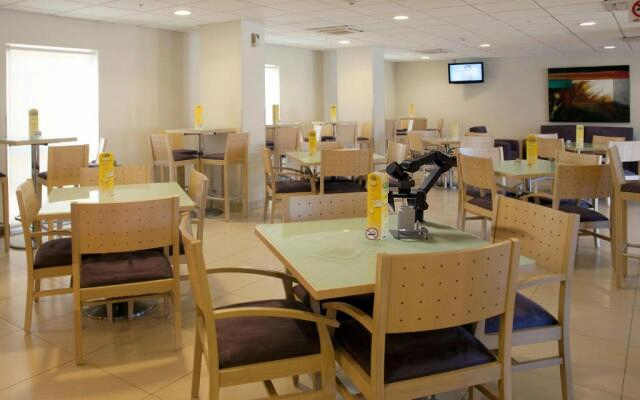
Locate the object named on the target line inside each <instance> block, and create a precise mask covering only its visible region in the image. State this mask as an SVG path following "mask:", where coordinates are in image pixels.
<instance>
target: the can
mask: <svg viewBox="0 0 640 400" xmlns="http://www.w3.org/2000/svg"><path fill="white" fill-rule="evenodd" d="M413 208H414V207H413V206H408V204H407V205H406V204H404V205H399V208H397V212H396V213H397V214H396V215H397V218H396V230H397V232H398V230H415V223H416V222H415V210H414V209H413ZM400 234H403V235H410V234H412V233H400Z"/></svg>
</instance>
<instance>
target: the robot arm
mask: <svg viewBox="0 0 640 400" xmlns="http://www.w3.org/2000/svg"><path fill="white" fill-rule="evenodd" d="M431 162H433V169H432V170H431V171H430V173H429V174H428V175H427V177H426V178H425V179H424V180H423V181H422V183H421V184H420V185H419V187H418V188H415V187H416V180H415V179H413V178H412V176H410V174H415V173H416V172H418V171H419V170H420V169H421V168H422V167H423V166H425V165H427V164H429V163H431ZM454 163H455V162H454V160H453V157H450V156H449V155H447V154H445V153H443V152H441V151H440V150H435V149H434V150H433V149H432V150H430V151H429V152H427V153H423V154H422V155H420V156H417V157H415V158H407V159H404V160H402V161H401V163H398V161H394V160H393V161H392V162H391V163H389V164H388V166H386V168H385V173H386V174H387V175H389V176H390V177H391V178H392V179H393V180H397V181H396V183H397V184H396V185H397V193H393V190H388V191H389V193H388V203H387V204H388V205H389V206H390V208H391V209H392V211H393V212H394V213H396V205H395V199H403V200H404V199H406V202H407V205H408V206H413V207H414V208H413V209H414V210H415V223H417V222H416V221H417V220H419V221H420V222H421V223H426V220H425V219H424V218H425V217H424V215H425V211H427V210H429V204H428V202H427V198H428V197H427V196H428V193H429V192H430V191H431V189H432V188H433V187H434V186H435V184H436V183H437V181H438V180H440V178H441V176H442V175H444V174H445V173H447V172H449V171H450V170H451V169H452V168H453V166H454ZM409 173H410V174H409Z"/></svg>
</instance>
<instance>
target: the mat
mask: <svg viewBox="0 0 640 400" xmlns="http://www.w3.org/2000/svg"><path fill="white" fill-rule="evenodd" d="M388 231H389V233H390V234H391V236H392V237H393V238H394V239H397V238H398V232H397V229H389V230H388ZM400 239H423V236H422V234H421V233H412V234H410V235H403V234H400Z"/></svg>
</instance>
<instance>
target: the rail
mask: <svg viewBox="0 0 640 400" xmlns="http://www.w3.org/2000/svg"><path fill="white" fill-rule="evenodd" d="M415 223H416V229H414V230H398V238H396V240H401V238H400V233H419V234H420V235H424V234H425V240H429V229H427V227H426V226H425V225H424V224H423V222H420V221H419V220H417V221H416V222H415ZM419 228H420V229H419Z"/></svg>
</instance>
